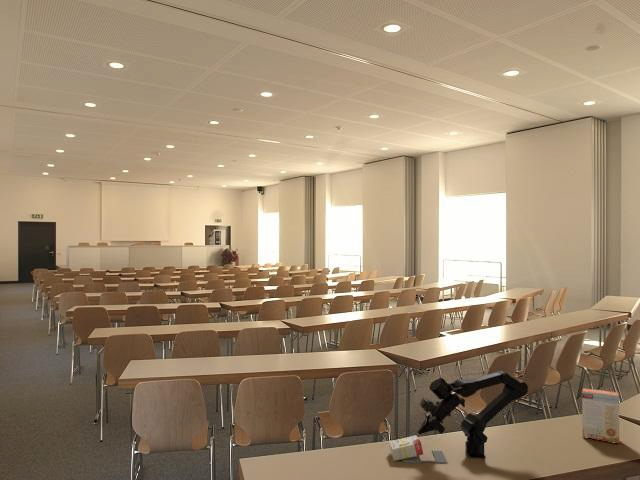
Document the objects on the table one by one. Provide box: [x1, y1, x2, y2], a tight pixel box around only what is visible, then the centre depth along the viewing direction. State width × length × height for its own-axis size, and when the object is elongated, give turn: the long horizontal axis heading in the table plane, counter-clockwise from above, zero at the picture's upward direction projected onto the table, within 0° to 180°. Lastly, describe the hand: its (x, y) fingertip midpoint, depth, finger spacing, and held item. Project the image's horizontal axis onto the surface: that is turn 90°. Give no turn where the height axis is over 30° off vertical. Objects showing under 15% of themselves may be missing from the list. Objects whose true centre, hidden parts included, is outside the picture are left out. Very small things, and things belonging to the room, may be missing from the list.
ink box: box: [388, 434, 424, 462], centre depth 199 cm, size 9×5×12 cm
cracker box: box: [581, 388, 620, 444], centre depth 218 cm, size 14×6×21 cm, turn 58°
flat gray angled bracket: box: [401, 450, 448, 464], centre depth 199 cm, size 17×11×1 cm, turn 87°
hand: (418, 433), depth 200 cm, fingers closed
